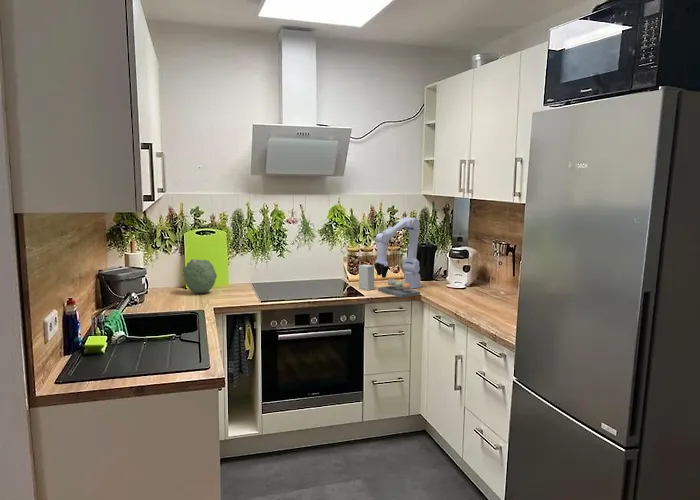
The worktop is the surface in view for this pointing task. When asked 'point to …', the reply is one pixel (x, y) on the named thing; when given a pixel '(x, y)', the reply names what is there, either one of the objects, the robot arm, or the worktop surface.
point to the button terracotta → (406, 286)
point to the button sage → (398, 284)
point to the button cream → (391, 281)
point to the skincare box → (366, 277)
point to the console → (398, 291)
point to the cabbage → (199, 275)
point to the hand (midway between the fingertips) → (381, 276)
